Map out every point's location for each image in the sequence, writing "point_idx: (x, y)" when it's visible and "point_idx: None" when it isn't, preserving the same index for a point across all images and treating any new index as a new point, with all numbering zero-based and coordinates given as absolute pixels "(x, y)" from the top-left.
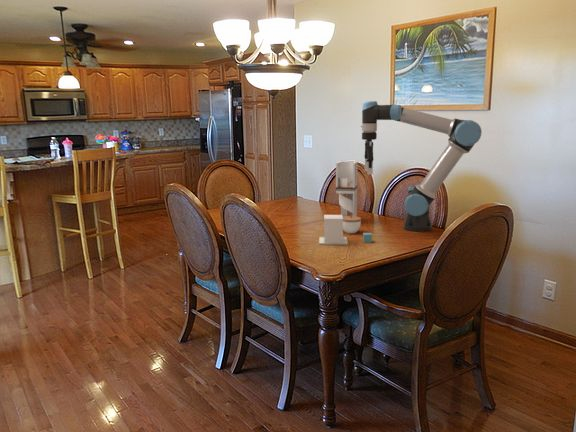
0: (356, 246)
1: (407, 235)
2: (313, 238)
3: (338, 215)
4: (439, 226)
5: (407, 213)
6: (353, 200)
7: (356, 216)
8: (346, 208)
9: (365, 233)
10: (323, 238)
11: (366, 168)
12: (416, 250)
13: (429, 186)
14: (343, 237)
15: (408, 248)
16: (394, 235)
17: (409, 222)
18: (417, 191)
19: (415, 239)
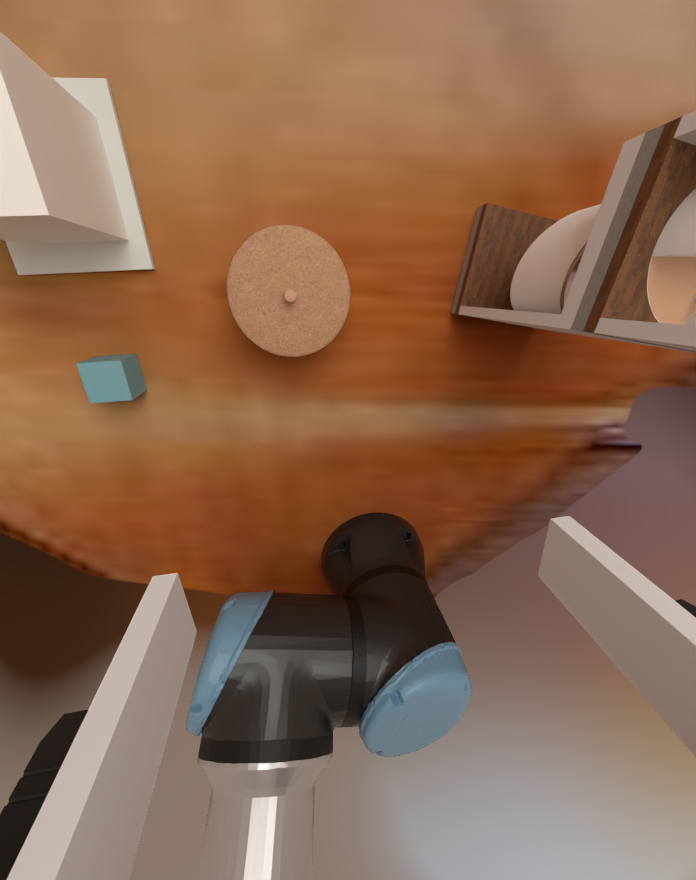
0: (4, 320)
1: (262, 523)
2: (90, 34)
3: (7, 180)
4: None
5: (382, 564)
6: (523, 317)
7: (333, 330)
8: (522, 267)
9: (109, 372)
10: None
11: (575, 567)
12: (43, 546)
13: (206, 826)
14: (138, 250)
15: (62, 523)
16: (254, 481)
17: (349, 549)
18: (212, 743)
19: (206, 545)
